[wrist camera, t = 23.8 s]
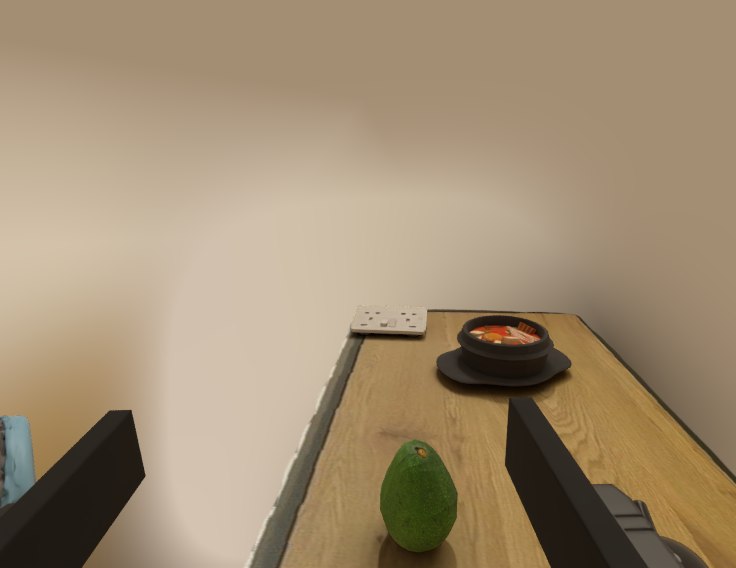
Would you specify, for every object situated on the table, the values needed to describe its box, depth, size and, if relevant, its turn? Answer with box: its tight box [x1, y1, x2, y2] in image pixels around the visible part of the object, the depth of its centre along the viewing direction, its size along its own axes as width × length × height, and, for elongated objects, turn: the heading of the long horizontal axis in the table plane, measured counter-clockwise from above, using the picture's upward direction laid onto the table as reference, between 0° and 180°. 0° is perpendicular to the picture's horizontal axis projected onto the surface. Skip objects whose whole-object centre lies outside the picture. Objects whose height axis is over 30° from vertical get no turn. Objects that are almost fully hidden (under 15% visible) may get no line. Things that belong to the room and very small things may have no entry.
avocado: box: [380, 440, 457, 552], centre depth 45 cm, size 8×8×12 cm
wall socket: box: [351, 306, 427, 337], centre depth 101 cm, size 18×15×4 cm
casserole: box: [436, 315, 572, 386], centre depth 80 cm, size 25×19×8 cm
